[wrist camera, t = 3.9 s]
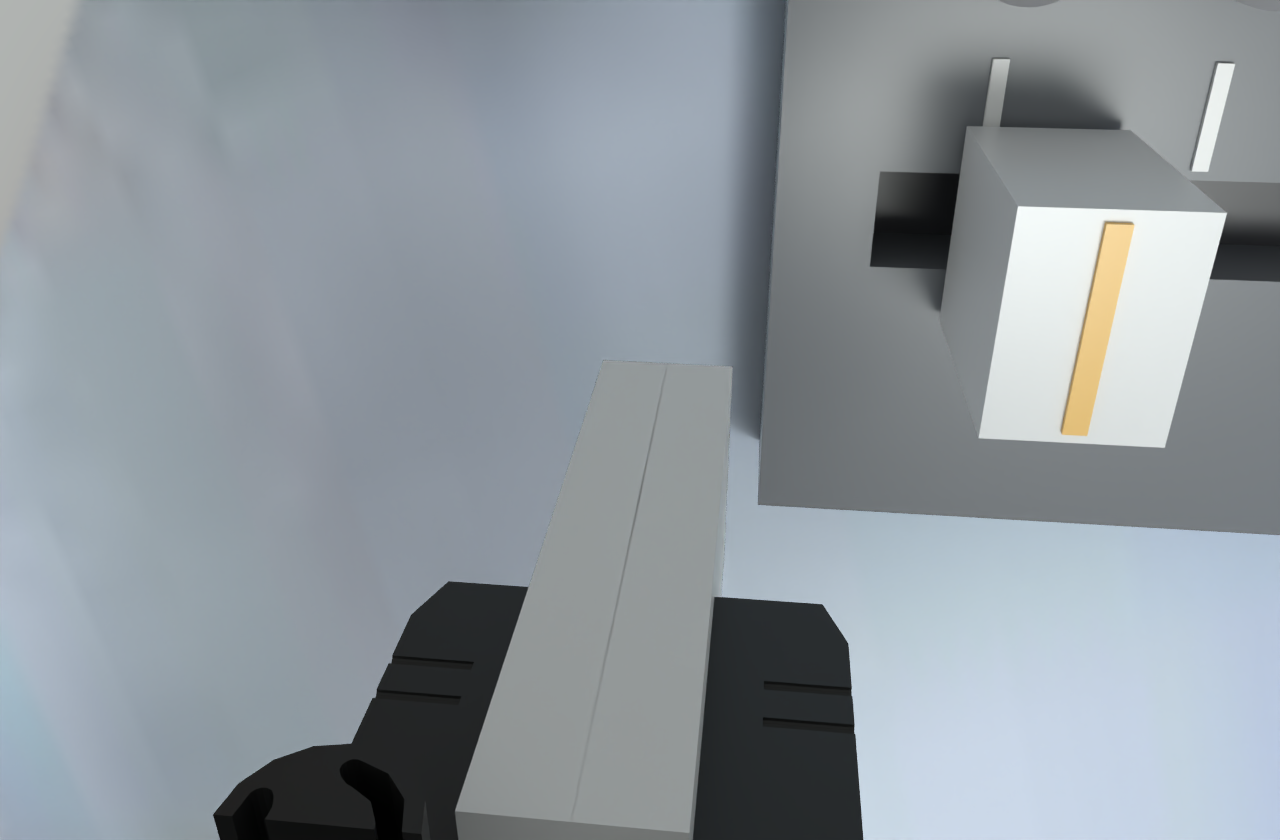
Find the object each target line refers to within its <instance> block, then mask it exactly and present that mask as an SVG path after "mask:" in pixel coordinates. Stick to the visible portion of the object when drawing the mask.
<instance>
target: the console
mask: <svg viewBox="0 0 1280 840" xmlns="http://www.w3.org/2000/svg"><path fill="white" fill-rule="evenodd" d="M967 126H983V127H1023V128H1063V129H1104V130H1131V131H1132V132H1133V133H1134V134H1136V135H1137V136H1138V137H1139V138H1140V139H1141V140H1143V141H1144V142H1145V143H1146V144H1147V145H1148V146H1150V147H1151V148H1152V149H1153V150H1154V151H1155V152H1157V153H1158V154H1159V155H1160V156H1161V157H1162V158H1164V159H1165V160H1166V161H1167V162H1168V163H1169V164H1171V165H1172V166H1173V167H1174V168H1175V169H1176V170H1178V171H1179V172H1180V173H1181V174H1182V175H1183V176H1185V177H1186V178H1187V179H1188V180H1189V181H1190V182H1192V183H1193V184H1194V185H1195V186H1196V187H1197V188H1199V189H1200V190H1201V191H1202V192H1203V193H1204V194H1206V195H1207V196H1208V197H1209V198H1210V199H1211V200H1213V201H1214V202H1215V203H1216V204H1217V205H1218V206H1220V207H1221V208H1222V209H1223V210H1224V211H1225V212H1227V215H1226V219H1225V223H1224V226H1223V230H1222V234H1221V238H1220V241H1219V245H1218V249H1217V253H1216V257H1215V260H1214V264H1213V268H1212V272H1211V275H1210V279H1209V283H1208V287H1207V290H1206V294H1205V298H1204V302H1203V306H1202V309H1201V313H1200V317H1199V321H1198V324H1197V328H1196V332H1195V336H1194V339H1193V343H1192V347H1191V351H1190V354H1189V358H1188V362H1187V366H1186V370H1185V373H1184V377H1183V381H1182V385H1181V388H1180V392H1179V396H1178V400H1177V403H1176V407H1175V411H1174V415H1173V418H1172V422H1171V426H1170V430H1169V434H1168V437H1167V441H1166V445H1165V448H1159V447H1139V446H1120V445H1100V444H1081V443H1061V442H1042V441H1023V440H1003V439H984V438H978V435H977V432H976V429H975V426H974V423H973V420H972V417H971V414H970V411H969V408H968V405H967V402H966V399H965V396H964V393H963V390H962V387H961V384H960V381H959V378H958V375H957V372H956V369H955V366H954V363H953V360H952V357H951V354H950V351H949V348H948V345H947V342H946V339H945V336H944V333H943V330H942V327H941V324H940V321H939V319H940V312H941V305H942V297H943V290H944V283H945V276H946V269H947V262H948V255H949V248H950V241H951V234H952V227H953V220H954V213H955V206H956V199H957V192H958V185H959V178H960V171H961V164H962V157H963V149H964V142H965V135H966V128H967ZM758 505H771V506H788V507H805V508H822V509H840V510H857V511H874V512H891V513H908V514H925V515H943V516H960V517H977V518H994V519H1011V520H1029V521H1046V522H1063V523H1080V524H1097V525H1114V526H1132V527H1149V528H1166V529H1183V530H1200V531H1218V532H1235V533H1252V534H1269V535H1280V0H786V5H785V22H784V39H783V56H782V72H781V89H780V106H779V123H778V139H777V156H776V173H775V190H774V207H773V223H772V240H771V257H770V274H769V291H768V307H767V324H766V341H765V358H764V374H763V391H762V408H761V425H760V442H759V481H758Z"/></svg>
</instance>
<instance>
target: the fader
mask: <svg viewBox="0 0 1280 840" xmlns="http://www.w3.org/2000/svg"><path fill="white" fill-rule="evenodd" d="M1226 215H1227V212H1225V211H1224V210H1223V209H1222V208H1221V207H1220V206H1218V205H1217V204H1216V203H1215V202H1214V201H1213V200H1211V199H1210V198H1209V197H1208V196H1207V195H1206V194H1204V193H1203V192H1202V191H1201V190H1200V189H1199V188H1197V187H1196V186H1195V185H1194V184H1193V183H1192V182H1190V181H1189V180H1188V179H1187V178H1186V177H1185V176H1183V175H1182V174H1181V173H1180V172H1179V171H1178V170H1176V169H1175V168H1174V167H1173V166H1172V165H1171V164H1169V163H1168V162H1167V161H1166V160H1165V159H1164V158H1162V157H1161V156H1160V155H1159V154H1158V153H1157V152H1155V151H1154V150H1153V149H1152V148H1151V147H1150V146H1148V145H1147V144H1146V143H1145V142H1144V141H1143V140H1141V139H1140V138H1139V137H1138V136H1137V135H1136V134H1134V133H1133V132H1132V131H1131V130H1104V129H1063V128H1023V127H983V126H967V128H966V135H965V142H964V149H963V157H962V164H961V171H960V178H959V185H958V192H957V199H956V206H955V213H954V220H953V227H952V234H951V241H950V248H949V255H948V262H947V269H946V276H945V283H944V290H943V297H942V305H941V312H940V319H939V321H940V324H941V327H942V330H943V333H944V336H945V339H946V342H947V345H948V348H949V351H950V354H951V357H952V360H953V363H954V366H955V369H956V372H957V375H958V378H959V381H960V384H961V387H962V390H963V393H964V396H965V399H966V402H967V405H968V408H969V411H970V414H971V417H972V420H973V423H974V426H975V429H976V432H977V435H978V438H984V439H1003V440H1023V441H1042V442H1061V443H1081V444H1100V445H1120V446H1139V447H1159V448H1165V445H1166V441H1167V437H1168V434H1169V430H1170V426H1171V422H1172V418H1173V415H1174V411H1175V407H1176V403H1177V400H1178V396H1179V392H1180V388H1181V385H1182V381H1183V377H1184V373H1185V370H1186V366H1187V362H1188V358H1189V354H1190V351H1191V347H1192V343H1193V339H1194V336H1195V332H1196V328H1197V324H1198V321H1199V317H1200V313H1201V309H1202V306H1203V302H1204V298H1205V294H1206V290H1207V287H1208V283H1209V279H1210V275H1211V272H1212V268H1213V264H1214V260H1215V257H1216V253H1217V249H1218V245H1219V241H1220V238H1221V234H1222V230H1223V226H1224V223H1225V219H1226Z"/></svg>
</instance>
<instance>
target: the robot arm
mask: <svg viewBox="0 0 1280 840" xmlns="http://www.w3.org/2000/svg"><path fill="white" fill-rule="evenodd" d="M732 370H733V366H712V365H692V364H672V363H652V362H631V361H611V360H603V362H602V365H601V369H600V372H599V375H598V378H597V381H596V384H595V387H594V390H593V393H592V396H591V399H590V402H589V405H588V408H587V411H586V414H585V417H584V420H583V423H582V426H581V429H580V432H579V435H578V438H577V441H576V445H575V448H574V451H573V454H572V457H571V460H570V463H569V466H568V469H567V472H566V475H565V478H564V481H563V484H562V487H561V490H560V493H559V496H558V499H557V502H556V505H555V508H554V511H553V514H552V518H551V521H550V524H549V527H548V530H547V533H546V536H545V539H544V542H543V545H542V548H541V551H540V554H539V557H538V560H537V563H536V566H535V569H534V572H533V575H532V578H531V581H530V584H529V587H519V586H505V585H491V584H477V583H463V582H447V583H446V584H445V585H444V586H443V587H442V588H441V589H440V590H438V591H437V592H436V593H435V594H434V595H433V596H432V597H431V598H429V599H428V600H427V601H426V602H425V603H424V604H423V605H422V606H421V607H419V608H418V609H417V610H416V611H415V612H414V613H413V614H412V615H411V616H410V619H409V621H408V623H407V625H406V627H405V629H404V632H403V634H402V636H401V638H400V640H399V642H398V644H397V647H396V649H395V651H394V653H393V655H392V663H391V664H388V666H387V668H386V670H385V673H384V675H383V677H382V679H381V681H380V683H379V685H378V688H377V694H376V698H372V701H371V703H370V705H369V707H368V709H367V711H366V714H365V716H364V718H363V720H362V722H361V724H360V726H359V729H358V731H357V733H356V735H355V737H354V739H353V742H352V744H342V745H327V746H313V747H310V748H307V749H304V750H301V751H298V752H295V753H293V754H290V755H287V756H284V757H281V758H278V759H275V760H273V761H271V762H270V763H268V764H267V765H265V766H264V767H262V768H261V769H259V770H258V771H256V772H255V773H253V774H252V775H251V776H249V777H248V778H246V779H245V780H243V781H242V782H240V783H239V784H238V785H237V786H236V787H235V788H234V790H233V791H232V792H231V793H230V795H229V796H228V797H227V798H226V799H225V801H224V802H223V803H222V804H221V806H220V807H219V808H218V809H217V810H216V812H215V813H214V814H213V816H214V819H215V823H216V827H217V830H218V834H219V837H220V840H863V830H862V817H861V804H860V791H859V778H858V765H857V752H856V738H855V734H854V712H853V699H852V696H851V689H852V686H851V673H850V660H849V647H848V643H847V641H846V639H845V638H844V636H843V635H842V633H841V632H840V630H839V629H838V627H837V626H836V624H835V623H834V621H833V620H832V618H831V617H830V615H829V614H828V612H827V611H826V609H825V608H824V606H823V604H809V603H795V602H781V601H767V600H752V599H738V598H724V597H721V592H722V580H723V567H724V551H725V529H726V506H727V483H728V461H729V438H730V415H731V393H732Z"/></svg>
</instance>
